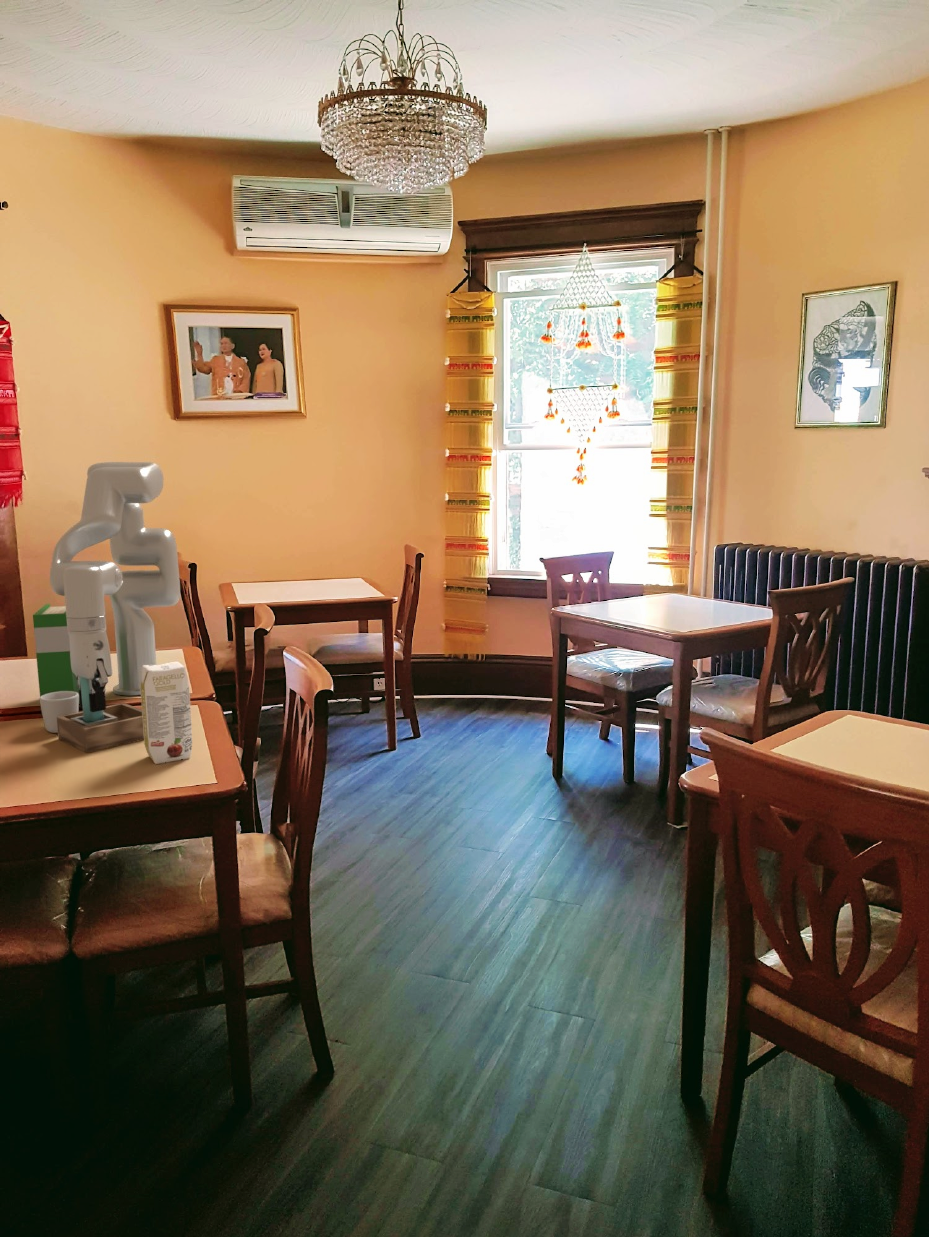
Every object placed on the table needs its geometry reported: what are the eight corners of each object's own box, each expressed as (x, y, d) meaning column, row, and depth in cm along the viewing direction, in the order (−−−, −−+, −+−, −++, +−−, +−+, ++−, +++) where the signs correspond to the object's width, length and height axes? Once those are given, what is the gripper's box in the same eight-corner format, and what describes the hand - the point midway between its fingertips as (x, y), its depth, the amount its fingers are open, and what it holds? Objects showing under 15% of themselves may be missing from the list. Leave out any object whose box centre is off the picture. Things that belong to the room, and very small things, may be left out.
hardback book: (53, 696, 223) (46, 604, 219) (85, 694, 225) (77, 602, 221) (41, 714, 206) (32, 615, 202) (75, 712, 208) (67, 613, 204)
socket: (104, 729, 191) (102, 711, 190) (118, 735, 186) (117, 717, 186) (72, 736, 186) (70, 718, 185) (86, 743, 181) (85, 724, 181)
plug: (98, 716, 188) (95, 671, 186) (107, 720, 185) (103, 674, 184) (80, 720, 185) (76, 675, 184) (88, 724, 182) (85, 677, 181)
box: (125, 724, 198) (123, 702, 197) (155, 736, 189) (154, 714, 188) (58, 738, 187) (56, 716, 186) (87, 753, 178) (85, 729, 177)
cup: (31, 727, 196) (28, 693, 194) (67, 720, 201) (64, 686, 200) (51, 737, 188) (48, 702, 187) (87, 729, 194) (84, 695, 193)
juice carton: (195, 758, 174) (190, 666, 171) (151, 766, 170) (145, 672, 167) (185, 748, 181) (180, 659, 177) (142, 756, 176) (136, 664, 173)
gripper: (122, 626, 179) (128, 712, 182) (86, 617, 190) (93, 698, 193) (86, 631, 174) (93, 719, 177) (51, 622, 185) (58, 705, 188)
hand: (93, 707), depth 185 cm, fingers closed on plug, 4 cm apart
